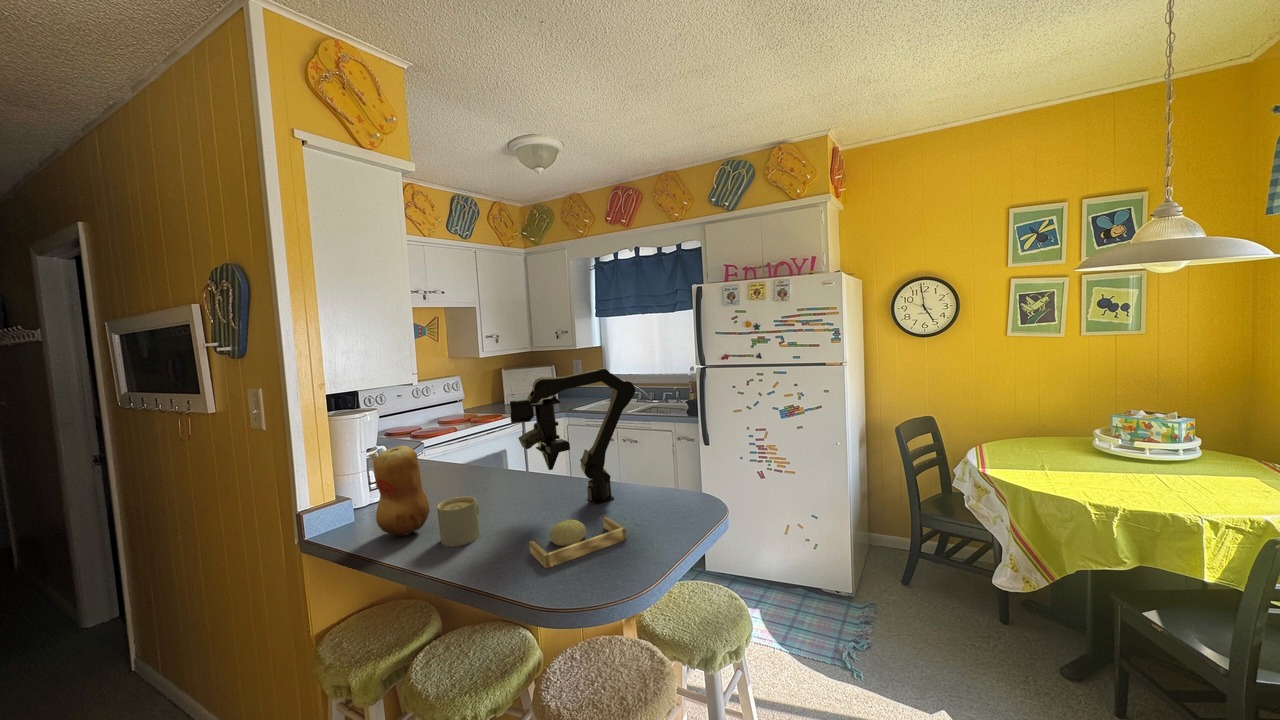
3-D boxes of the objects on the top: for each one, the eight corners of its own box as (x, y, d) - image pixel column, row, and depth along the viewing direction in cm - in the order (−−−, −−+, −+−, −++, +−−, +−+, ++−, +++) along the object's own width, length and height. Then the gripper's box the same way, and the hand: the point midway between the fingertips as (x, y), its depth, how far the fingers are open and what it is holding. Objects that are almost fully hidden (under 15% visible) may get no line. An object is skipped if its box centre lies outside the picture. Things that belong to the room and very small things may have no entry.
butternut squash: (368, 542, 140) (356, 454, 138) (404, 522, 153) (394, 441, 150) (408, 545, 136) (397, 455, 133) (442, 524, 148) (432, 441, 146)
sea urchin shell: (543, 531, 134) (562, 506, 135) (566, 546, 136) (585, 522, 138) (549, 544, 125) (569, 518, 127) (573, 561, 128) (593, 534, 129)
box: (607, 527, 137) (606, 516, 137) (626, 539, 129) (625, 528, 129) (530, 553, 126) (529, 541, 125) (546, 568, 117) (545, 556, 117)
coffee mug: (459, 549, 131) (455, 512, 130) (433, 543, 136) (428, 507, 135) (496, 528, 143) (492, 493, 142) (470, 523, 148) (466, 490, 147)
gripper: (509, 420, 156) (514, 469, 157) (531, 429, 140) (537, 483, 142) (543, 413, 162) (548, 461, 163) (568, 421, 146) (573, 474, 148)
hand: (550, 469), depth 154 cm, fingers closed
